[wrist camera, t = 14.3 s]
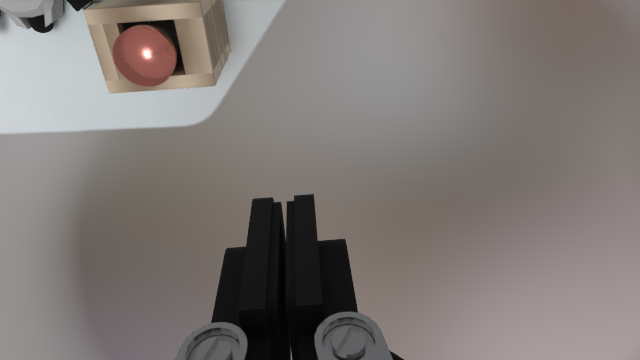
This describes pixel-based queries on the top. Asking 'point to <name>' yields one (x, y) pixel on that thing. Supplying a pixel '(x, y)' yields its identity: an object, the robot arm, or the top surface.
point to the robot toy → (39, 12)
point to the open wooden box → (192, 30)
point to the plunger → (147, 52)
